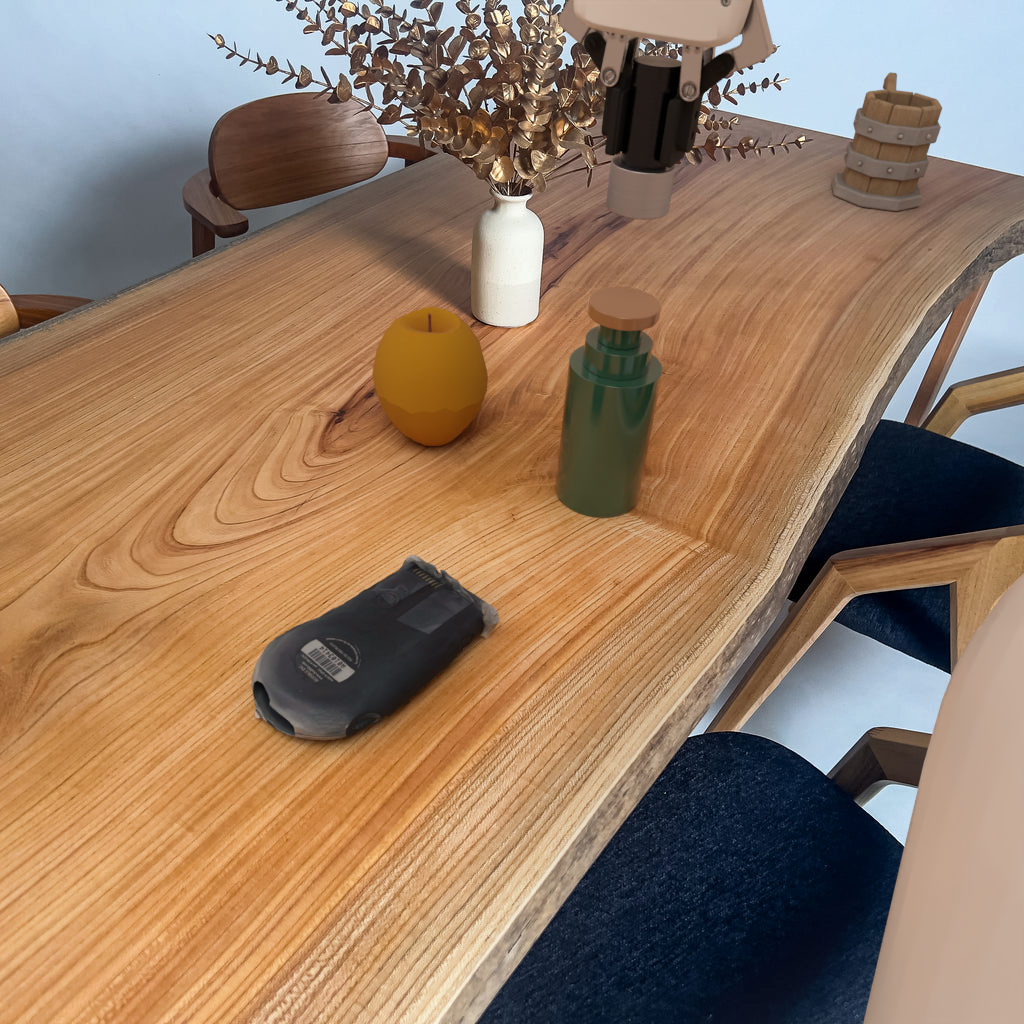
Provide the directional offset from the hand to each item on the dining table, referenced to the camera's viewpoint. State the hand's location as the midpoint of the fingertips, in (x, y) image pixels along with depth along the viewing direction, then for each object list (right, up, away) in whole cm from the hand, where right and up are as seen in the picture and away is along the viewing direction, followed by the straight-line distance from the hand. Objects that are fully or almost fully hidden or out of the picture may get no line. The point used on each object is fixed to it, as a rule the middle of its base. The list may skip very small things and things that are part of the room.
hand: (645, 153), depth 58 cm
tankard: (+48, +27, +83) cm, 100 cm away
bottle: (-2, -21, +17) cm, 27 cm away
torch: (0, -3, +2) cm, 4 cm away
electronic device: (-18, -33, +1) cm, 38 cm away
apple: (-16, -16, +22) cm, 32 cm away
